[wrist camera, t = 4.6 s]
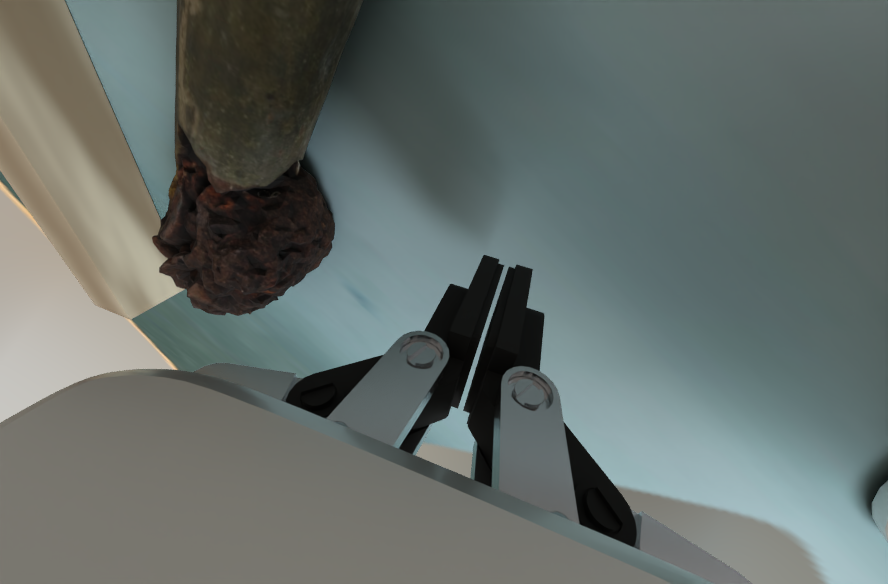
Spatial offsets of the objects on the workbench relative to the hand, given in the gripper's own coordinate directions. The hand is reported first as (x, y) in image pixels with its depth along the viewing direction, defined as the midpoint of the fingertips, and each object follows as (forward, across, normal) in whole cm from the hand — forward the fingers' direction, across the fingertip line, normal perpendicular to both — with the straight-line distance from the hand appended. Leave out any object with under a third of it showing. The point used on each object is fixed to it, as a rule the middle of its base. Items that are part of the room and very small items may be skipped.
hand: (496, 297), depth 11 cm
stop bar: (+4, +23, 0) cm, 23 cm away
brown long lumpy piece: (+4, +10, -2) cm, 11 cm away
